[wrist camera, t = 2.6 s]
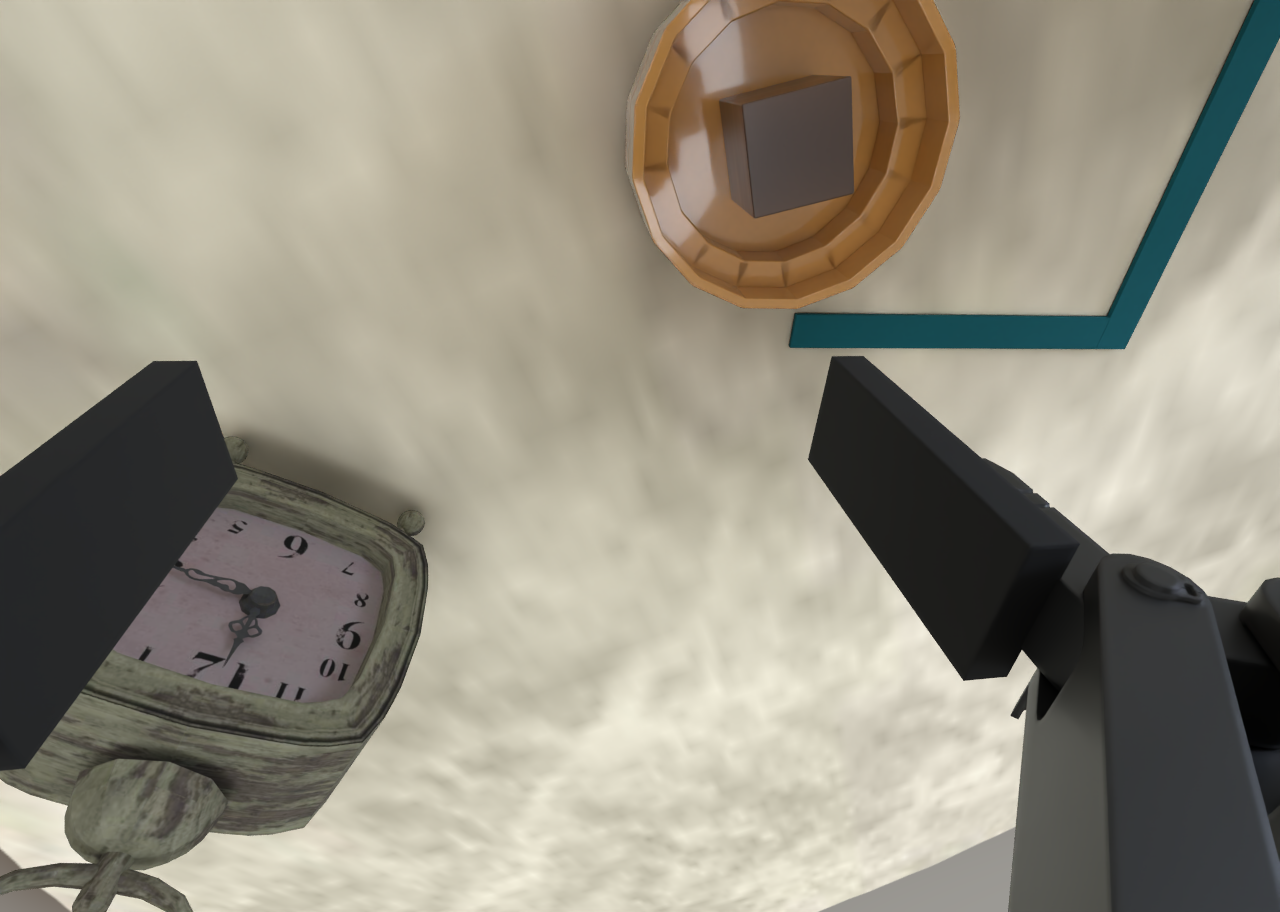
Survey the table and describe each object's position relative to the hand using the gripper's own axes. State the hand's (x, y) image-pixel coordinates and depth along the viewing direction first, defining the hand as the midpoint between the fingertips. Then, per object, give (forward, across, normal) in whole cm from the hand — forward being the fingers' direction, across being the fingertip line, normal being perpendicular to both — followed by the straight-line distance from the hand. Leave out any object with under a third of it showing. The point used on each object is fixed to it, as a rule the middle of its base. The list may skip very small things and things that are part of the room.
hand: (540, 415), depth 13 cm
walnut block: (+20, +11, +4) cm, 23 cm away
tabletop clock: (+22, -14, -18) cm, 32 cm away
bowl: (+20, +11, +4) cm, 24 cm away
